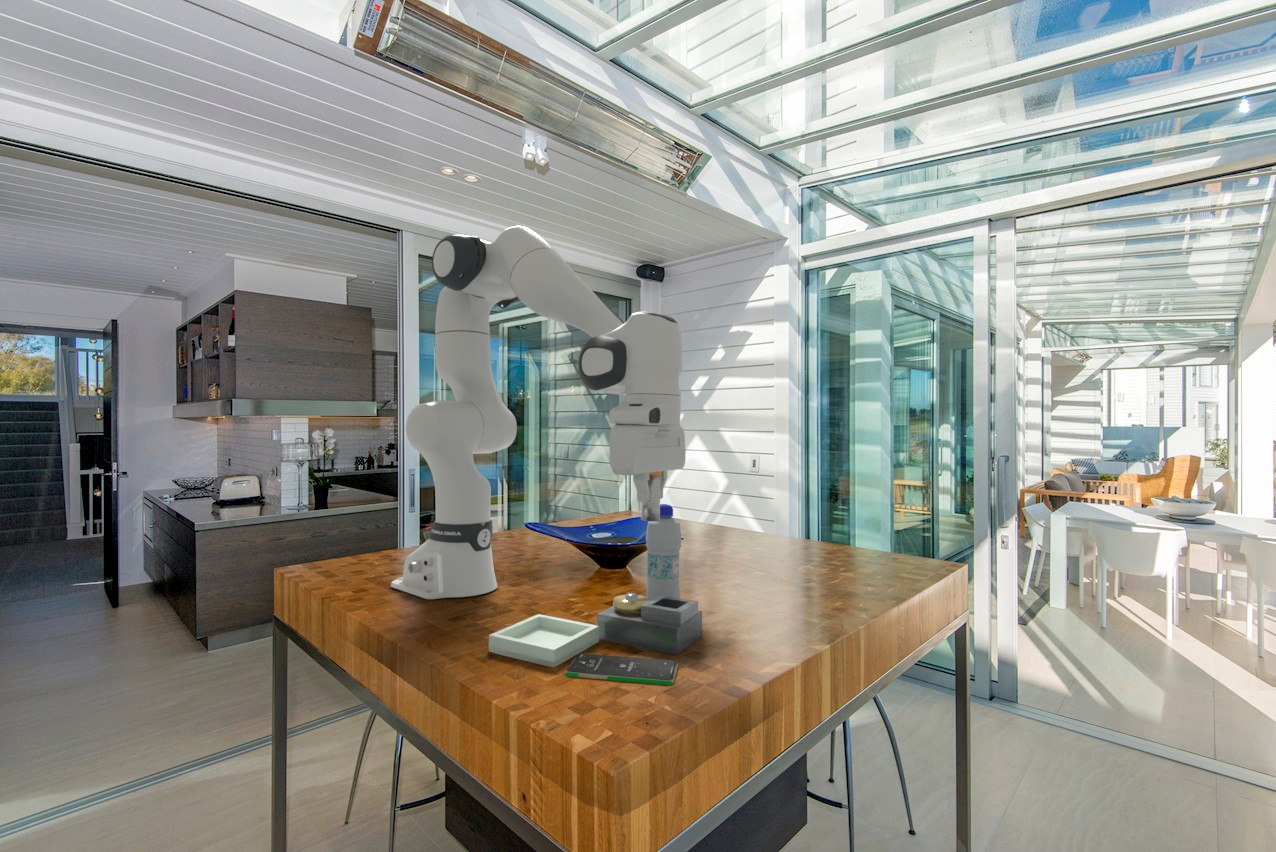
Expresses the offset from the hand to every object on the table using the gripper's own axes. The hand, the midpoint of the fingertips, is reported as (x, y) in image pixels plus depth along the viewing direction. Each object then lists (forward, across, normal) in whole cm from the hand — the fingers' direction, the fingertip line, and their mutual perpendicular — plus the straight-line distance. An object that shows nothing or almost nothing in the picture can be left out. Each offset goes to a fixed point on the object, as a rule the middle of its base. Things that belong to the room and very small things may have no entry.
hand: (650, 500), depth 95 cm
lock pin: (+3, 0, 0) cm, 3 cm away
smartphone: (+23, +12, +2) cm, 26 cm away
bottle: (+23, -15, -4) cm, 27 cm away
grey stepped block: (+22, -2, 0) cm, 22 cm away
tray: (+22, +10, -12) cm, 28 cm away
